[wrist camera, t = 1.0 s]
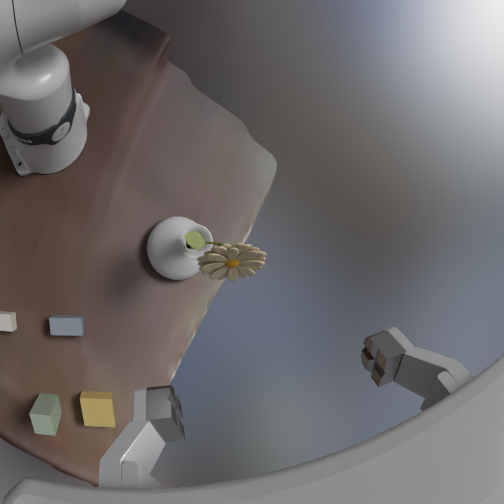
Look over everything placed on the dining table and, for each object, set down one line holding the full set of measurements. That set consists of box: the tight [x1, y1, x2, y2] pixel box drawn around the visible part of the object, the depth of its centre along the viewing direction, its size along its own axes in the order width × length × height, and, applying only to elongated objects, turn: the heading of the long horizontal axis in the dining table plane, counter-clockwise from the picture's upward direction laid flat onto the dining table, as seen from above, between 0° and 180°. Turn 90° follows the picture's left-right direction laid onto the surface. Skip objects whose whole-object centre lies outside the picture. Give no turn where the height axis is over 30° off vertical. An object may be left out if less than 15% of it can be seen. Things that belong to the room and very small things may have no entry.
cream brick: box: [0, 311, 17, 332], centre depth 36 cm, size 6×3×3 cm, turn 91°
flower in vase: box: [147, 217, 266, 281], centre depth 42 cm, size 13×11×25 cm
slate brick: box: [49, 315, 84, 336], centre depth 42 cm, size 6×3×3 cm, turn 91°
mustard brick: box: [80, 391, 115, 427], centre depth 42 cm, size 6×6×4 cm
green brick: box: [29, 394, 62, 435], centre depth 35 cm, size 4×4×9 cm
